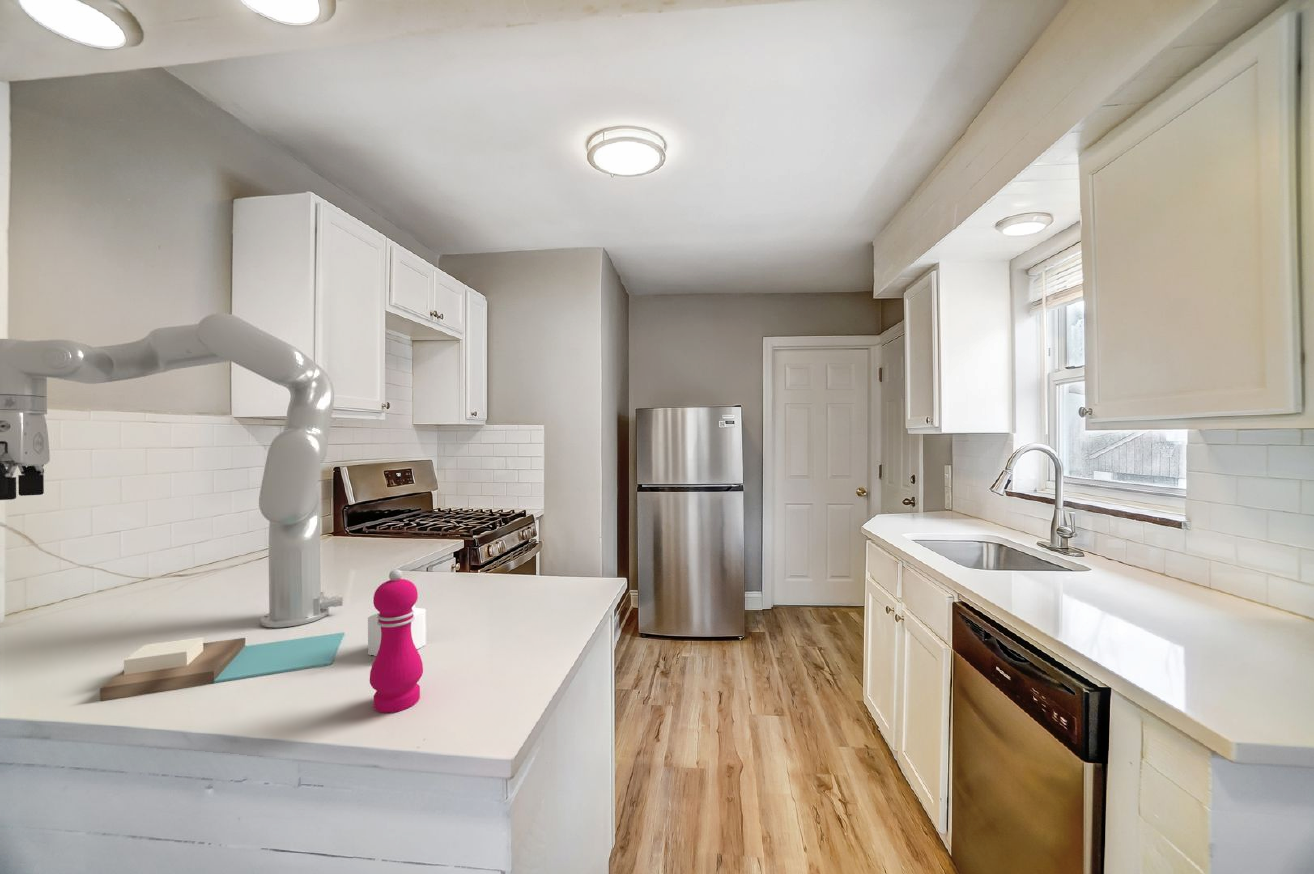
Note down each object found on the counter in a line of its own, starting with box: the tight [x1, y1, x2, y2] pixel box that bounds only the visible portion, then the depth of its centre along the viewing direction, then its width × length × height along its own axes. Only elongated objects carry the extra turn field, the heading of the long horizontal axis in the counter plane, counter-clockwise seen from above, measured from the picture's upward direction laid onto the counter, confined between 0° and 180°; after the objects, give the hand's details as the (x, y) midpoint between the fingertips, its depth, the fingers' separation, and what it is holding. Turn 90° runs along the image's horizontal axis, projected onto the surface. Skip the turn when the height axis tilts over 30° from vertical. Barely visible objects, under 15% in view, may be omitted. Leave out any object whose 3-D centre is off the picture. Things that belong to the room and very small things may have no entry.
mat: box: [210, 631, 345, 684], centre depth 97 cm, size 17×16×1 cm
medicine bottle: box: [367, 603, 427, 657], centre depth 99 cm, size 7×7×12 cm
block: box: [123, 637, 204, 675], centre depth 90 cm, size 8×7×2 cm
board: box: [99, 637, 246, 702], centre depth 91 cm, size 14×16×2 cm
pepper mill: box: [369, 569, 424, 714], centre depth 79 cm, size 7×7×20 cm
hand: (17, 497), depth 99 cm, fingers open, 9 cm apart
